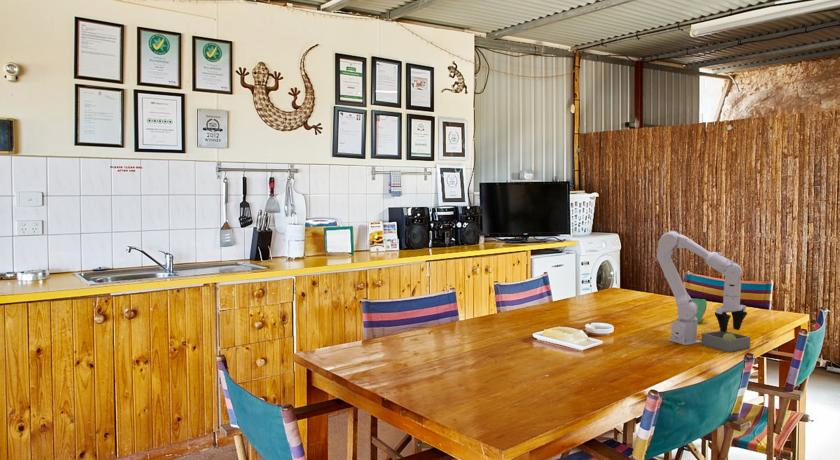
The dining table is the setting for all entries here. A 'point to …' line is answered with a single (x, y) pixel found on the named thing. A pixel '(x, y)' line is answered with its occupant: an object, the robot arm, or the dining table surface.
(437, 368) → the dining table surface
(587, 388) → the dining table surface
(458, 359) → the dining table surface
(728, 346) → the tub
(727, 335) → the lime
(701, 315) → the mug
